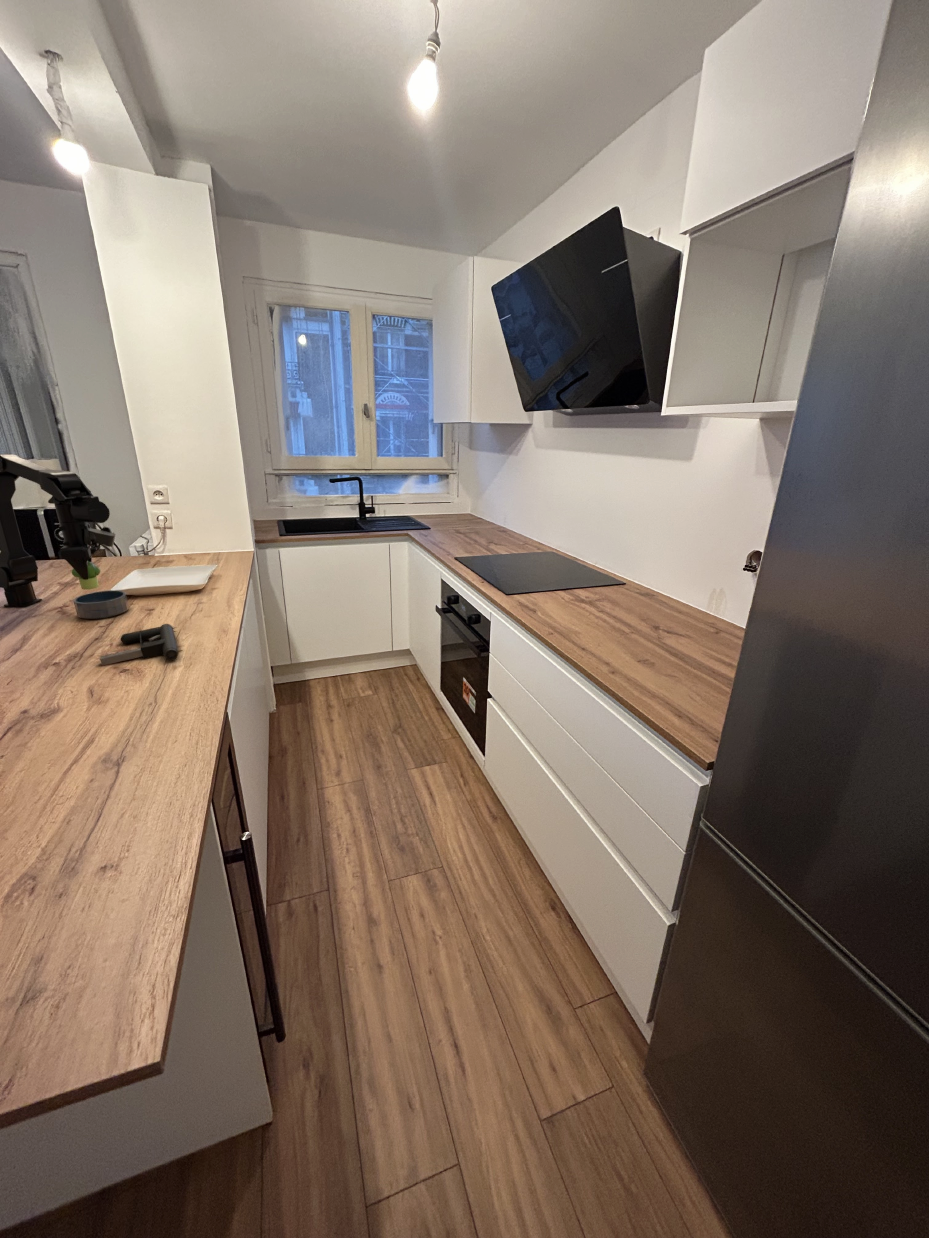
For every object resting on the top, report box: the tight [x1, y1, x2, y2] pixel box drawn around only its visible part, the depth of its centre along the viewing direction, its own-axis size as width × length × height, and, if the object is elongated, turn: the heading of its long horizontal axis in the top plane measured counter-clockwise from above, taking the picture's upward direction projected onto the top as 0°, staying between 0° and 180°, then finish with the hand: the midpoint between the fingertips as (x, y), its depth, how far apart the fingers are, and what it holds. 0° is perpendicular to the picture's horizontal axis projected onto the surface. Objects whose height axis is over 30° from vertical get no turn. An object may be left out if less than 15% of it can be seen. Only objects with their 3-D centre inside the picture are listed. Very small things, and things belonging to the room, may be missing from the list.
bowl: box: [72, 590, 130, 620], centre depth 139 cm, size 12×12×5 cm
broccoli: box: [71, 561, 101, 591], centre depth 135 cm, size 6×5×8 cm
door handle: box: [99, 623, 183, 667], centre depth 115 cm, size 3×20×16 cm
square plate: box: [109, 564, 218, 597], centre depth 166 cm, size 27×27×4 cm
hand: (87, 577), depth 135 cm, fingers closed on broccoli, 5 cm apart
